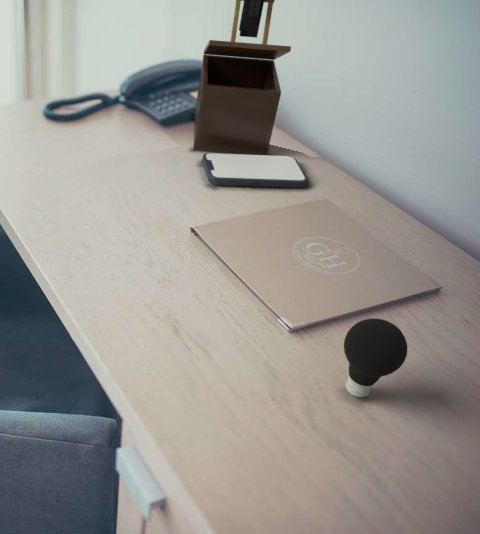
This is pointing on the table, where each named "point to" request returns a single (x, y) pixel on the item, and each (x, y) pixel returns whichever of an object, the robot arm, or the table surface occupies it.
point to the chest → (236, 105)
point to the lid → (247, 48)
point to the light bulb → (372, 353)
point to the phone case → (253, 170)
